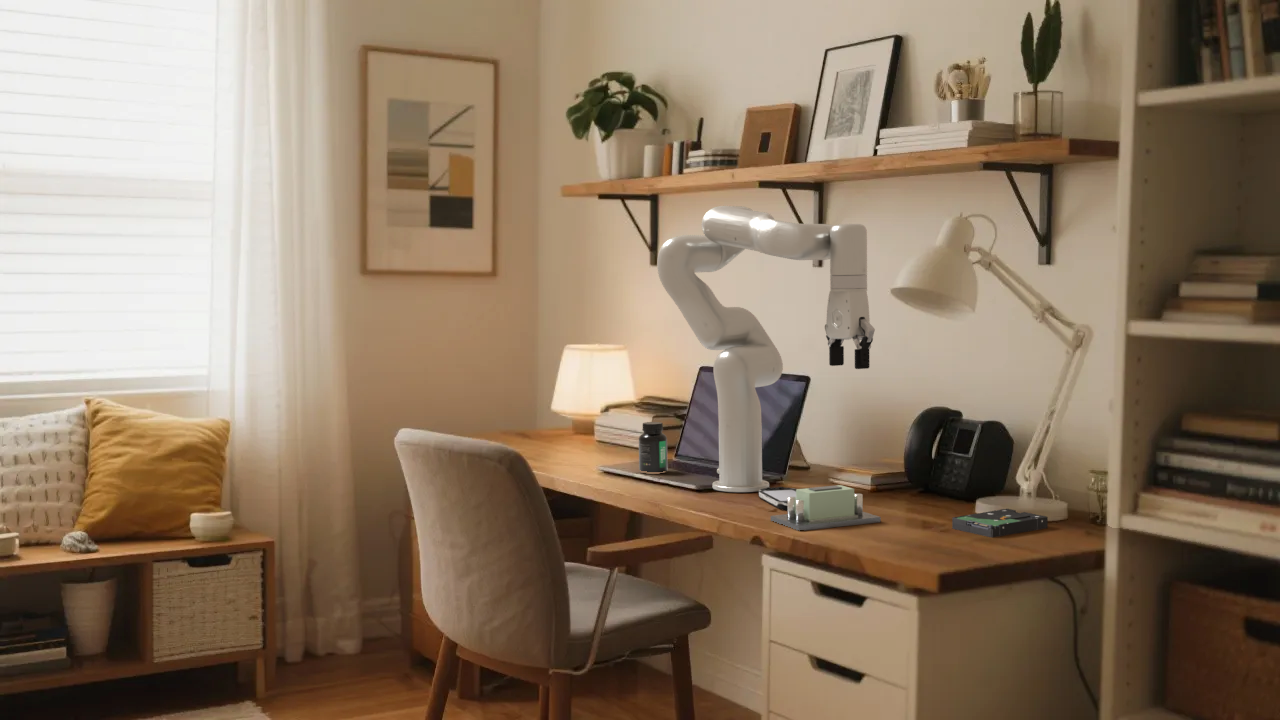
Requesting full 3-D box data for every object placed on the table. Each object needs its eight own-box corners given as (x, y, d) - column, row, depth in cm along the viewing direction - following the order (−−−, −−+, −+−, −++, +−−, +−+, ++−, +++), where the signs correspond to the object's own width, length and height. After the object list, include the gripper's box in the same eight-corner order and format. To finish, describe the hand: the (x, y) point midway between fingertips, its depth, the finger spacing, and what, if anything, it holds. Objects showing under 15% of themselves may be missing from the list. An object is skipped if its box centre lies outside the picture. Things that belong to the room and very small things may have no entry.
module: (796, 514, 259) (796, 487, 259) (840, 510, 263) (840, 483, 263) (809, 519, 255) (809, 491, 254) (854, 514, 259) (854, 487, 258)
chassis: (770, 520, 260) (770, 495, 260) (849, 512, 267) (849, 487, 267) (799, 531, 250) (798, 504, 250) (880, 522, 257) (880, 496, 257)
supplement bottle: (670, 473, 319) (669, 424, 318) (642, 475, 318) (641, 425, 317) (663, 469, 326) (663, 420, 325) (636, 471, 325) (635, 421, 324)
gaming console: (824, 512, 271) (824, 499, 271) (782, 514, 269) (782, 501, 269) (792, 495, 290) (793, 484, 290) (753, 497, 288) (753, 485, 288)
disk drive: (1006, 522, 258) (950, 531, 250) (1006, 508, 258) (951, 516, 250) (1048, 531, 249) (992, 540, 242) (1048, 516, 249) (993, 524, 241)
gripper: (811, 284, 281) (811, 365, 283) (855, 285, 266) (856, 370, 267) (841, 283, 284) (842, 363, 286) (887, 284, 269) (888, 369, 270)
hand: (849, 366), depth 276 cm, fingers open, 9 cm apart
